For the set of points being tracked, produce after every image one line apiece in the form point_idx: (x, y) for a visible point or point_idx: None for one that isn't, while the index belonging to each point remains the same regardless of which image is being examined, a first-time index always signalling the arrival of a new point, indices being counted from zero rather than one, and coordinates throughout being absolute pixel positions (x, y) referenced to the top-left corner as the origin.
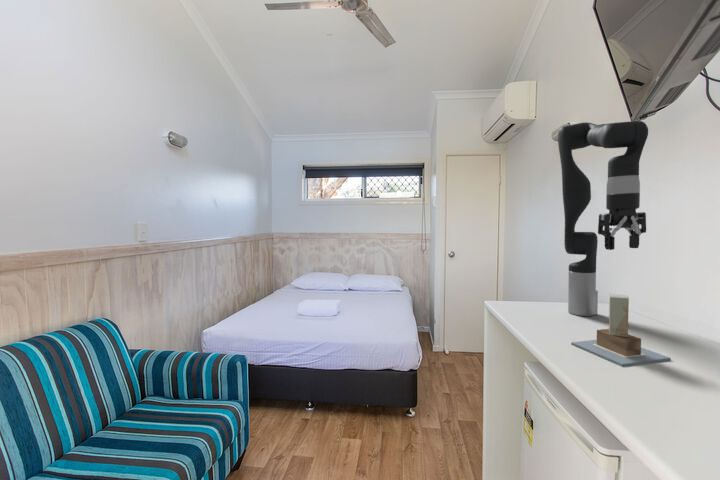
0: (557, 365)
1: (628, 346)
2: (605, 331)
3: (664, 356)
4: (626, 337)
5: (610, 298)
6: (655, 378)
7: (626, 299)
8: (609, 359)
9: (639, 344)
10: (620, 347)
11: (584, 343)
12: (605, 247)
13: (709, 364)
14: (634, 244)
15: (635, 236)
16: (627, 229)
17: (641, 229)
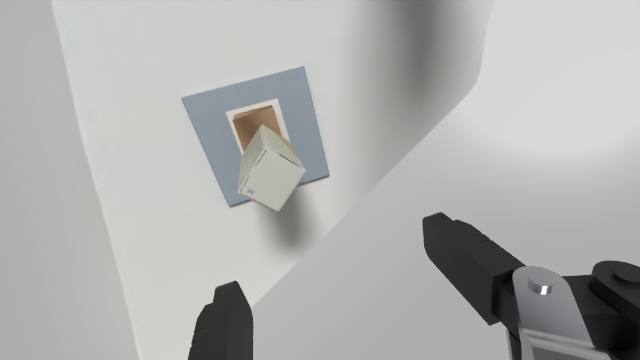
0: (106, 210)
1: None
2: (247, 132)
3: (324, 169)
4: None
5: (238, 192)
6: (252, 238)
7: (273, 209)
8: (219, 185)
9: None
10: None
11: (211, 105)
12: (206, 307)
13: (370, 185)
14: (438, 259)
15: (484, 309)
16: (525, 344)
17: (603, 349)
